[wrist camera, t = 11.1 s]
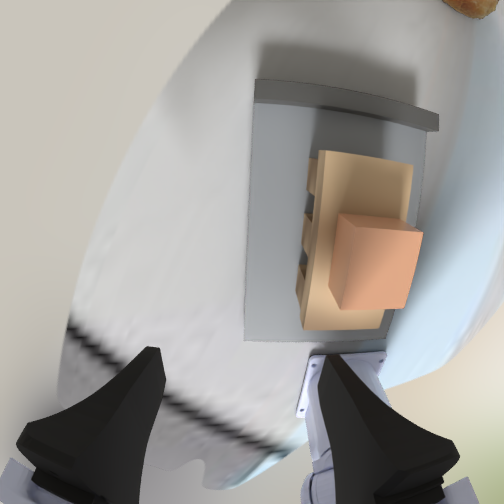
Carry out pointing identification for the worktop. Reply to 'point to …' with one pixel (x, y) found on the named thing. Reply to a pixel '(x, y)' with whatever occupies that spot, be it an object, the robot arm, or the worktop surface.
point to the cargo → (373, 262)
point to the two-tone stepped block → (325, 224)
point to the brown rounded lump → (473, 7)
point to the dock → (302, 201)
